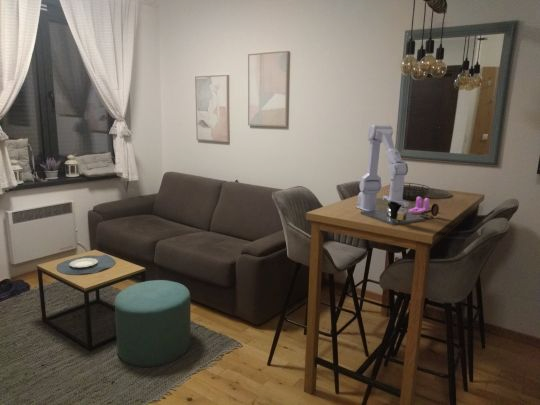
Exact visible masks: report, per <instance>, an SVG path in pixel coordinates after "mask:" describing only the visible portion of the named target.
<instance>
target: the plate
mask: <svg viewBox="0 0 540 405" xmlns="http://www.w3.org/2000/svg"><path fill="white" fill-rule="evenodd" d="M378 209H379V208H378ZM360 215H363V216H365V217H368V218H371V219H374V220H376V221H379V222H382V223H386V224H388V225H391V226H395V225H396V226H397V225H403V224H404V225H405V224H410V223H417V222H424V221H425V220H426V219H425V218H422V217H419V216H420V215H417V214H411V213H409V212H407V216H406V217H403V220H397V218H396V219H391V216H389V215H387V208H380V209H379V210H370V211H365V210H362V211H361V210H360Z"/></svg>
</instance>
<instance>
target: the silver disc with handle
mask: <svg viewBox="0 0 540 405" xmlns="http://www.w3.org/2000/svg"><path fill="white" fill-rule="evenodd" d="M404 207H405V206H403V205H402V206H401V207H400V209H399V210H398V212H397V217H396V218H397V220H403V217H406V216H407V213H408V209H407V208H404ZM386 209H387V215H389V216H391V211H390V208H389V206H388V207H387V208H386Z"/></svg>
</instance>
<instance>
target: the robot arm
mask: <svg viewBox="0 0 540 405" xmlns="http://www.w3.org/2000/svg"><path fill="white" fill-rule="evenodd" d="M393 132H394V131H393V127H392V125H391V124H388V125H387V124H386V125H385V124H371V125H370V127H369V128H368V132H367V133H368V134H367V140H368V142H369V148H368V159H367V160H368V161H367V170H366V171H367V172H366V173H365V174H364V175H362V176H361V178H360V182H359V185H358V186H359V190H360V191H359V193H358V196H357V206H356V207H355V209H360V210H362V211H370V210H379V208H377V198H378V193H379V192H380V191H381V190H382V178H381V176H379V175H378V169H379V159H380V149H381V144H383V146H384V148H385V150H386V154H385V157H386V158H387V162H388V164H389V168H388V171H389V172H388V173H389V179H390V185H389V195H382V201H387V202H388V203H387V206H388V207H389V208H390V211H391V219H396V217H397V212H398V210H399V209H400V207H401V206H404V207H409V206H410V202H409V201H407V200H405V199H403V194H404V184H405V176H406V175H407V174H408V172H409V165H408V163H407V162H406V161H405V160H403V159H402V157H401V154H400V151H399V149H396V148H395V144H394V141H393V138H392V137H393V134H394V133H393Z"/></svg>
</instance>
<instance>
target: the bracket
mask: <svg viewBox="0 0 540 405" xmlns="http://www.w3.org/2000/svg"><path fill="white" fill-rule="evenodd" d="M415 198H416V199H415V206H414V207H412V208H409V209H408V210H407V213H409V212H410V213H409V214H411V213H413V214H412V215H421V214H423V213H425V212H424V211H426V212H429V210H430V198H428V197H425V198H424V199H423V197H421V196H416V197H415ZM422 200H423V205H422ZM416 210H417V211H416ZM422 212H423V213H422Z"/></svg>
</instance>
